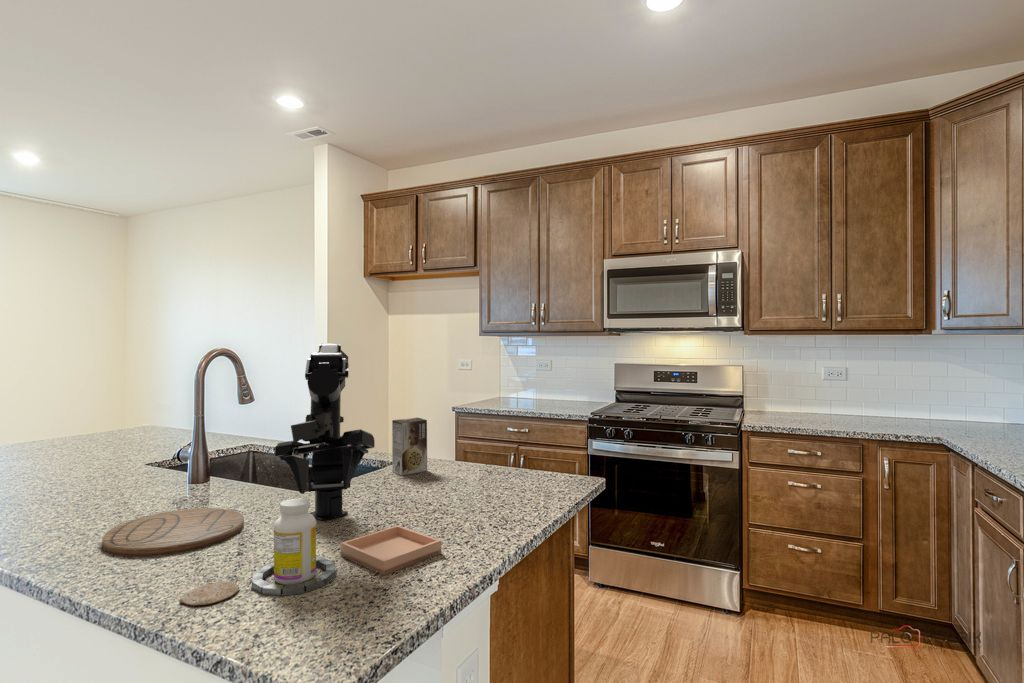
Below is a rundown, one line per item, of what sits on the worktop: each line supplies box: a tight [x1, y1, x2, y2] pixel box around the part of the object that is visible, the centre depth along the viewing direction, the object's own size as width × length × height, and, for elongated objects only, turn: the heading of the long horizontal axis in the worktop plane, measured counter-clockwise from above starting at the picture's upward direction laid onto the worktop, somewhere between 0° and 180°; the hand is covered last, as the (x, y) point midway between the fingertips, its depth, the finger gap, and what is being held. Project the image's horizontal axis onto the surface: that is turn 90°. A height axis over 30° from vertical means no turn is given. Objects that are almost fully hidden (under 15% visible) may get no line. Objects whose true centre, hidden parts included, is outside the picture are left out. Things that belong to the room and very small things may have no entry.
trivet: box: [101, 507, 245, 558], centre depth 114 cm, size 25×25×2 cm
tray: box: [340, 525, 442, 576], centre depth 103 cm, size 13×13×2 cm
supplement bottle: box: [273, 497, 317, 585], centre depth 93 cm, size 7×7×13 cm
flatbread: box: [179, 581, 240, 607], centre depth 86 cm, size 8×8×1 cm
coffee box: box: [391, 417, 428, 476], centre depth 170 cm, size 9×6×16 cm
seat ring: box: [251, 556, 337, 597], centre depth 93 cm, size 13×13×1 cm
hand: (323, 490), depth 105 cm, fingers open, 9 cm apart
